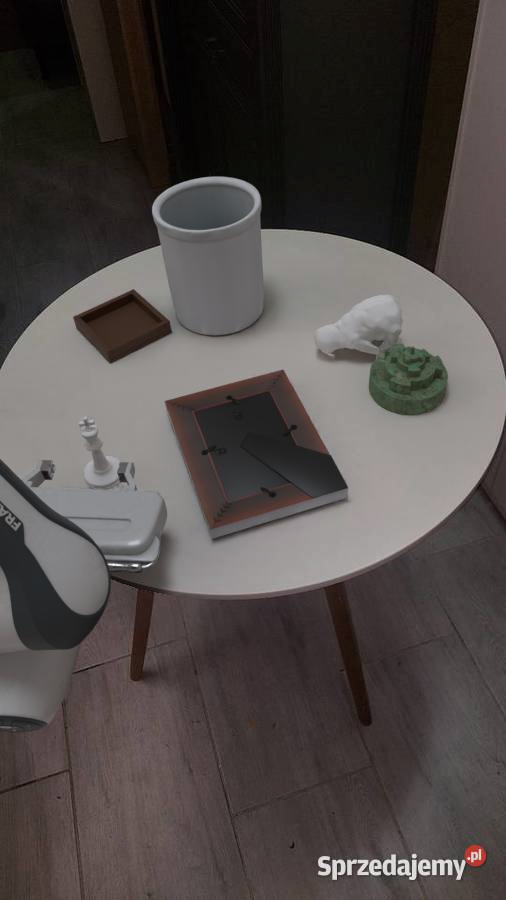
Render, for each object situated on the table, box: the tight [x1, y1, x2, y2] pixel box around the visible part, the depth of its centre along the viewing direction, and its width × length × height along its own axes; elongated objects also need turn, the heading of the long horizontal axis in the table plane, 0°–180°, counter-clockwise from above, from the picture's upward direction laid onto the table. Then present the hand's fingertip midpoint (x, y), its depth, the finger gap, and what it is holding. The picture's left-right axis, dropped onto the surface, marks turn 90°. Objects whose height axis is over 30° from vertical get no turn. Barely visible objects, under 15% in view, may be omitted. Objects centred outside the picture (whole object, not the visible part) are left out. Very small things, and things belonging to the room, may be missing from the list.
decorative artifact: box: [368, 343, 449, 415], centre depth 89 cm, size 10×7×10 cm
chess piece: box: [78, 415, 121, 490], centre depth 81 cm, size 5×5×10 cm
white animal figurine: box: [313, 294, 403, 359], centre depth 94 cm, size 6×8×12 cm
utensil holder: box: [151, 176, 265, 336], centre depth 99 cm, size 15×15×18 cm
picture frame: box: [164, 369, 349, 540], centre depth 84 cm, size 16×2×22 cm
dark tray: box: [72, 288, 173, 364], centre depth 102 cm, size 11×11×2 cm
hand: (87, 464), depth 78 cm, fingers open, 8 cm apart
